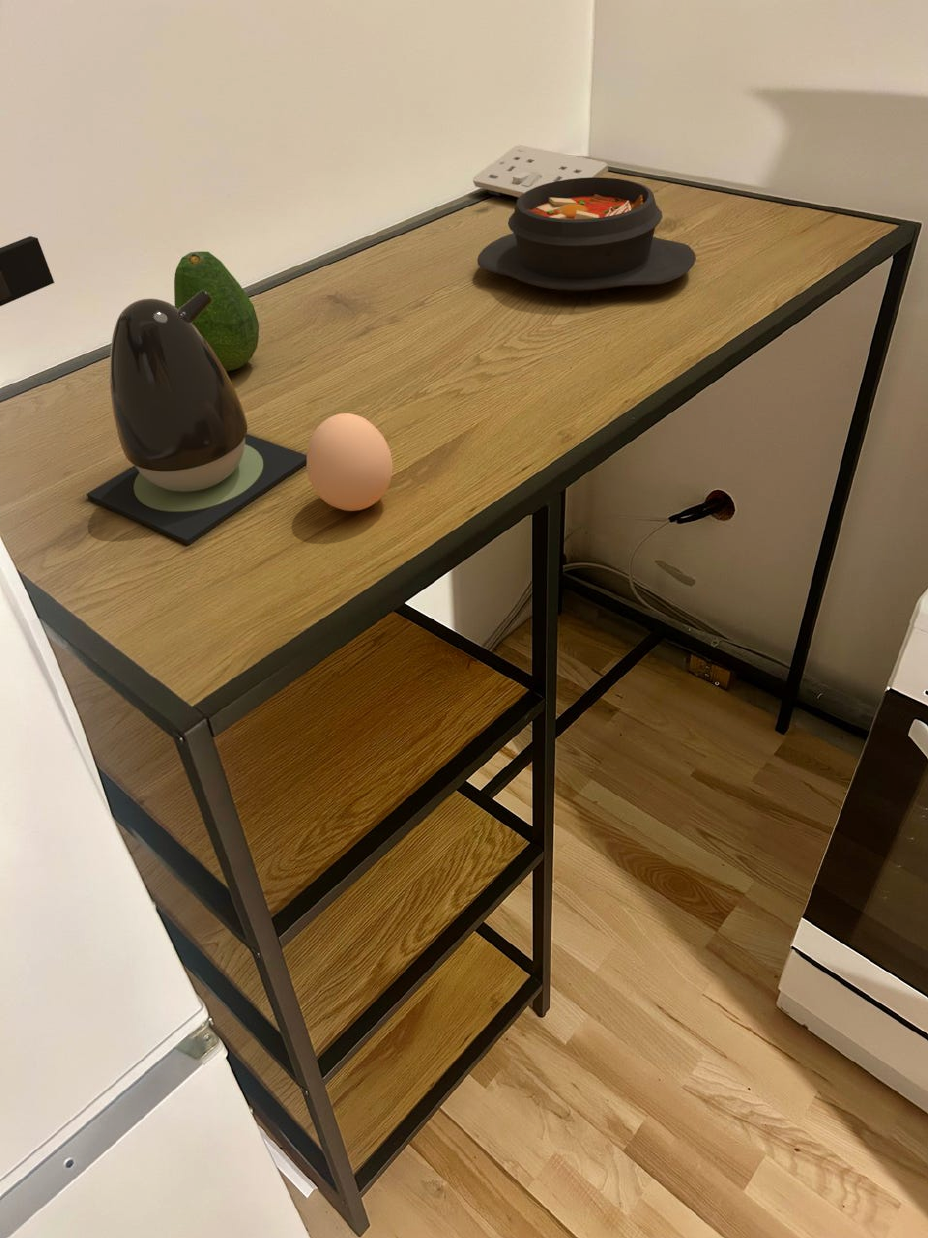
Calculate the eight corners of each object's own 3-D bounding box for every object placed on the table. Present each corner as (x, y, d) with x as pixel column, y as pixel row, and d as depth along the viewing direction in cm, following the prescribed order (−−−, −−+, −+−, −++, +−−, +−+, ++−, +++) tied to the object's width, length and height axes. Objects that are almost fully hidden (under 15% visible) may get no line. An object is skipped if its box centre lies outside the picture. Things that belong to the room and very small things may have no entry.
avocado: (176, 376, 95) (139, 259, 87) (232, 346, 99) (203, 231, 91) (228, 394, 91) (195, 273, 83) (285, 361, 95) (258, 243, 87)
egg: (389, 529, 71) (375, 439, 66) (307, 528, 72) (286, 440, 67) (404, 481, 76) (391, 395, 71) (326, 481, 77) (309, 395, 72)
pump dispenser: (282, 470, 78) (239, 294, 68) (173, 524, 73) (109, 343, 63) (221, 430, 84) (173, 263, 74) (117, 477, 79) (51, 306, 69)
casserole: (710, 251, 108) (718, 175, 103) (671, 317, 96) (677, 234, 90) (512, 237, 117) (509, 166, 111) (452, 295, 104) (446, 219, 99)
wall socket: (622, 179, 127) (619, 149, 124) (564, 231, 120) (560, 201, 117) (512, 172, 136) (507, 144, 134) (453, 220, 129) (447, 191, 127)
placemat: (88, 498, 78) (85, 492, 78) (211, 424, 86) (209, 419, 86) (188, 545, 72) (186, 539, 72) (311, 461, 80) (309, 455, 80)
